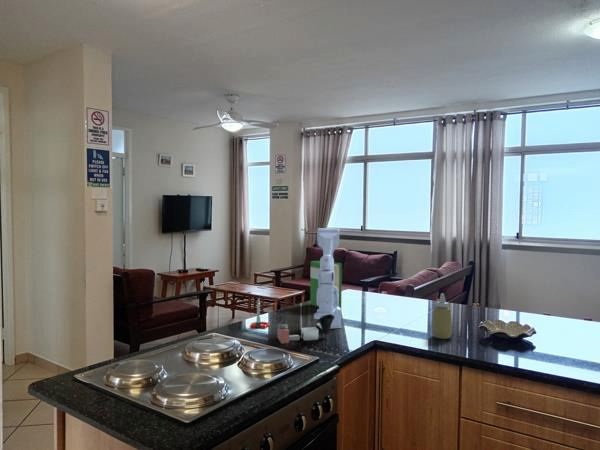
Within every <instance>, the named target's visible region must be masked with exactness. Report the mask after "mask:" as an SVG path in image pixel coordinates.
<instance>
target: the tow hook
mask: <svg viewBox="0 0 600 450" xmlns="http://www.w3.org/2000/svg"><path fill="white" fill-rule="evenodd" d="M260 302H261V300H260V298H257V304H256V305H257V307H256V321H255V322H251V323H250V328H251V329H266V328H268V327H270V326H271V323H270V322H267V321H261V303H260Z"/></svg>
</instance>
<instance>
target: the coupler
mask: <svg viewBox="0 0 600 450" xmlns="http://www.w3.org/2000/svg"><path fill="white" fill-rule="evenodd" d="M300 338H301V336H300V335H299V334H292V335H291V334H290V330H289V324H287V323H281V324H280V323H279V324H278V325H277V339H278V340H279V342H280V344H289V343H290V341H300Z"/></svg>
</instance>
